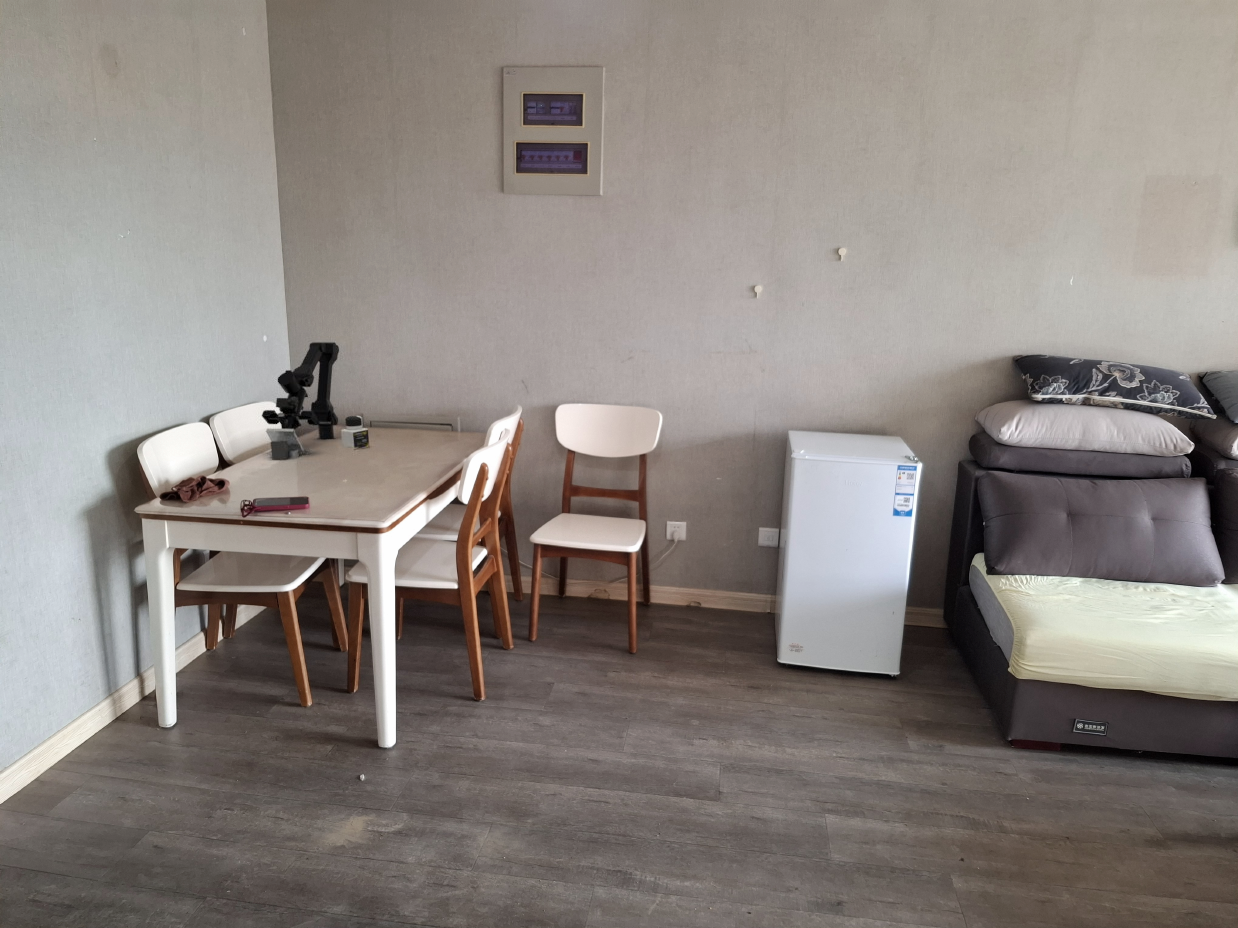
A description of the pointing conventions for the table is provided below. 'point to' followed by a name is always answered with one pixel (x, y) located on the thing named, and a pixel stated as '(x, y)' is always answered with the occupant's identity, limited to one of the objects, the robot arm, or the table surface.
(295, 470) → the table surface
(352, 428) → the medicine bottle
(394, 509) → the table surface
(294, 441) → the gray rectangular panel
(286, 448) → the heat sink
